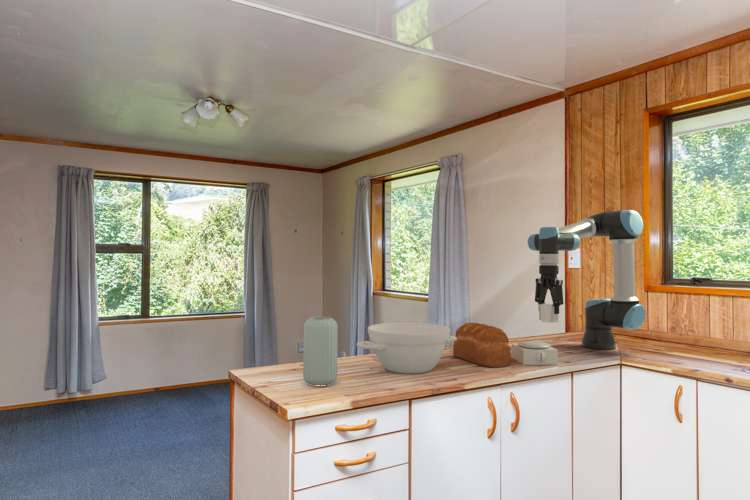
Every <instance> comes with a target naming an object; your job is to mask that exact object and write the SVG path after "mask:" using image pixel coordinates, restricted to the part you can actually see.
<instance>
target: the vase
mask: <svg viewBox="0 0 750 500" xmlns="http://www.w3.org/2000/svg"><path fill="white" fill-rule="evenodd" d="M338 327H339V326H338V323H337V321H336V320H335V319H333V318H332V317H330V316H312V317H309V318H308V319H307V320H306V321H304V324H303V341H302V343H303V347H302V348H303V350H302V351H303V353H302V354H303V356H302V357H303V359H302V360H303V364H302V366H303V368H302V369H303V370H302V375H303V376H302V377H303V380H304V381H305V382H306V383H307V385H309V384H311V385H320V386H321V385H329V384H331V383H332V384H334V382H336V380H337V378H338V354H339V353H338V348H339V347H338V345H339V344H338V342H339V341H338V339H339V338H338V336H339V334H338V333H339V331H338ZM332 384H331V385H332ZM311 385H310V386H311ZM329 386H330V385H329Z"/></svg>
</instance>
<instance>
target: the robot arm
mask: <svg viewBox="0 0 750 500" xmlns="http://www.w3.org/2000/svg"><path fill="white" fill-rule="evenodd" d="M643 230H644V221H643V219H642V216H641V214H639V212H637V211H635V210H632V209H623V210H613V211H603V212H598V213H595V214H592V215H590V216H586V217H583V218H581V219H580V220H579V221H577V222H574V223H571V224H567V225H564V226H561V227H558V226H557V227H556V226H542V227H540V228H539V231H538V233H533V234H530V236H529V237H528V238H527V246H528V248H529V249H530V250H531V251H535V252H538V255H539V257H538V261H539V263H538V264H540V265H538V266H539V267H538V273H539V275H540V277H539V278H535V291H534V292H535V294H534V302H535V303H537V305H538V320H539V321H542V320H541V310H540V304H546V302H545V301H546V299H547V298H546V297H547V293H548V290H549V292H550V298H551V300H552V304H553V305H552V322H553V323H559V314H560V306H562V305H564V294H563V293H564V292H563V285H564V283H563V282H564V281H563V279H558V275H559V269H560V268H559V265H558V264H559V262H560V259H559V254H560V253H559V251H561V252H562V251H567V252H571V251H575V250H577V249H578V248H579V247H580V244H581V239H583V238H586V239H587V238H588V239H589V238H590V239H591V238H593V237H608V241H609V242H611V243H612V253H613V254H612V257H613V287H614V288H613V294H614V295H613V296H612V297H611V298H598V299H588V300H586V301H585V308H584V312H585V314H584V315H585V318H584V319H585V322H584V323H585V328H584V329H585V330H584V333H583V336H582V338H581V346H582V347H584V348H587V349H594V350H615V349H616V348H617V343H616V340H615V337H614V334H613V329H612V328H618V329H623V330H632V331H633V330H638V329H639V328H641V326H642V325H643V323H645V319H646V309H645V307H644V306H643V304H640V299H639V298H638V297H637V296H636V282H635V281H636V277H635V276H636V275H635V274H636V272H635V271H636V270H635V269H636V268H635V243H636V241H638V236H639V235H642V232H643Z"/></svg>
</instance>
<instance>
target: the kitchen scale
mask: <svg viewBox="0 0 750 500" xmlns="http://www.w3.org/2000/svg"><path fill="white" fill-rule="evenodd" d="M558 350H559V349H558V348H555V347H553V346H551V344H550V343H547V342H542V341H530V340H529V341H526V340H525V341H518V342H517V343H511V359H512V360H515V361H516V362H517V363H519V364H521V363H522V364H521V365H523V366H534V365H535V366H545V365H547V366H548V365H550V366H551V365H555V366H556V365H558V364H559V363H558V361H559V360H558V358H559V357H558V356H559V355H558V353H559V351H558Z"/></svg>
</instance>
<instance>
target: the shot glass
mask: <svg viewBox="0 0 750 500" xmlns="http://www.w3.org/2000/svg"><path fill="white" fill-rule="evenodd" d="M552 305H553V303H545V304H540V310H541V320H540V321H541V322H542V323H548V324H549V323H554V322H552Z"/></svg>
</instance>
